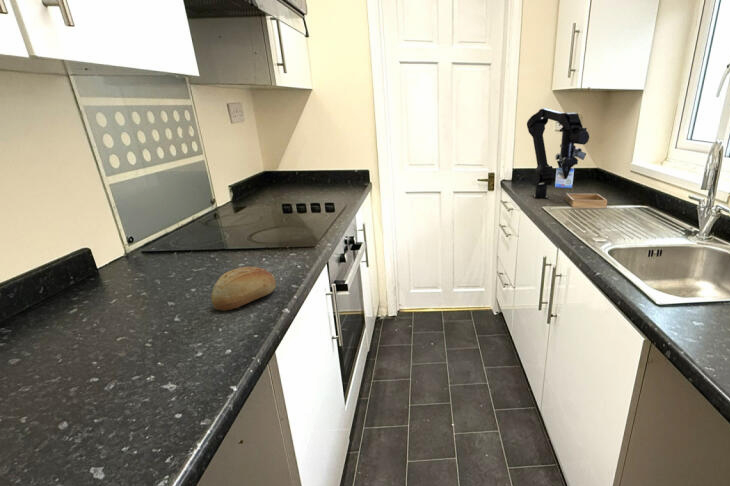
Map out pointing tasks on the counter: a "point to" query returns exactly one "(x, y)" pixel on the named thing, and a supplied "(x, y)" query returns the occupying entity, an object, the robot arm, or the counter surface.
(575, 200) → the wooden tray
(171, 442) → the counter surface
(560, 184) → the medicine box
